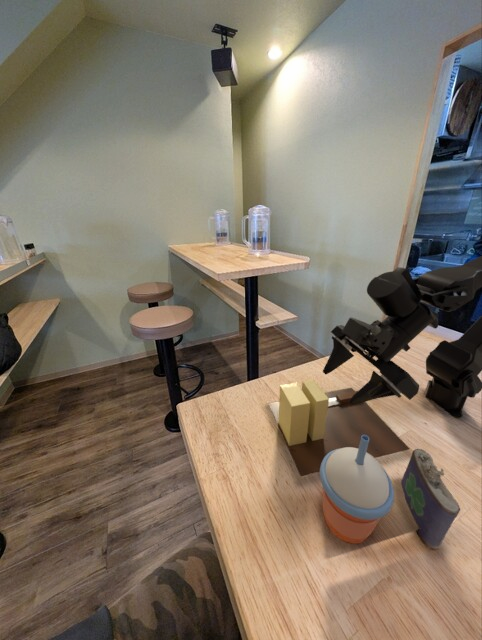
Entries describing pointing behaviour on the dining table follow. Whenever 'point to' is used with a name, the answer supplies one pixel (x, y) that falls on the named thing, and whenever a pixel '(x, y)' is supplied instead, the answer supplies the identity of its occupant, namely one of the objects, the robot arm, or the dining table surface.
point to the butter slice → (316, 409)
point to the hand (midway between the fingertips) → (336, 387)
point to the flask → (428, 499)
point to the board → (343, 434)
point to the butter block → (293, 413)
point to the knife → (341, 398)
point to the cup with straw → (354, 492)
